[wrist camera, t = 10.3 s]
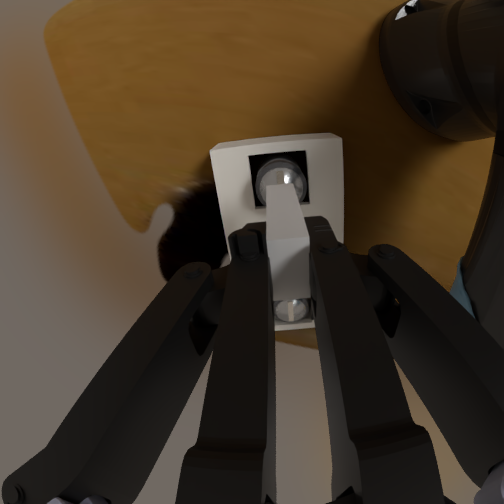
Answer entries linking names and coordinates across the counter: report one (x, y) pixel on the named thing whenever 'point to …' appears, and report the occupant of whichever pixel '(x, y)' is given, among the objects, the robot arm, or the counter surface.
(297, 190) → the knob
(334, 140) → the console
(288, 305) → the knob
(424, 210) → the counter surface
